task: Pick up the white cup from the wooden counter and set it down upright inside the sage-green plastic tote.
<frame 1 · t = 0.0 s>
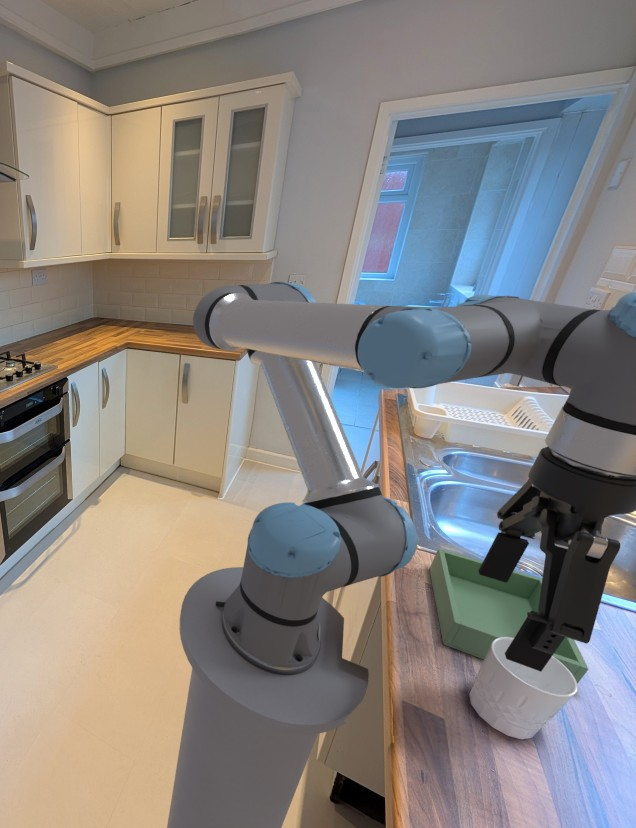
hand: (505, 615, 50), 19 cm above the countertop, tool pointing down, fingers open, 13 cm apart
tote: (489, 621, 71), on the countertop
white cup: (499, 713, 58), on the countertop
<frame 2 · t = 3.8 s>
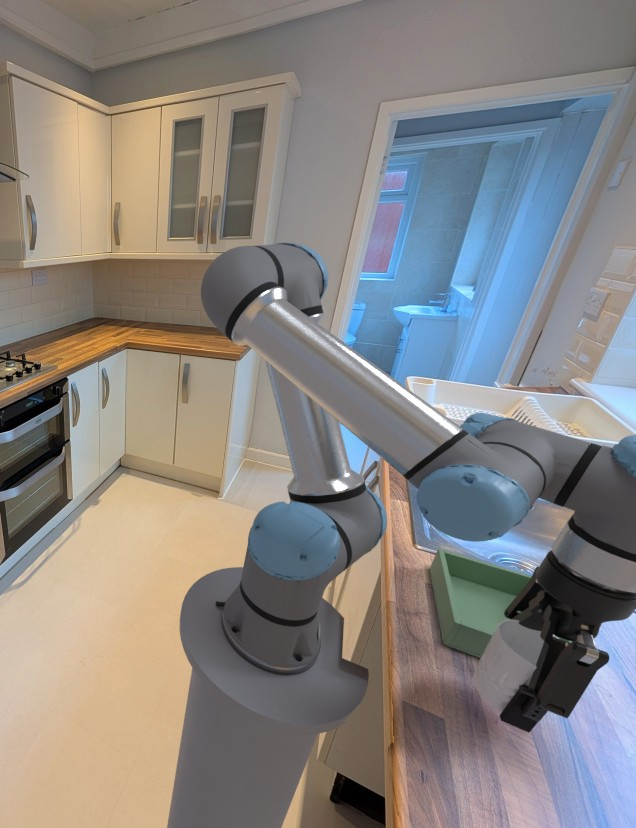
hand: (505, 694, 57), 3 cm above the countertop, tool pointing down, fingers closed on white cup, 8 cm apart
white cup: (503, 696, 57), point 3 cm above the countertop, touching gripper
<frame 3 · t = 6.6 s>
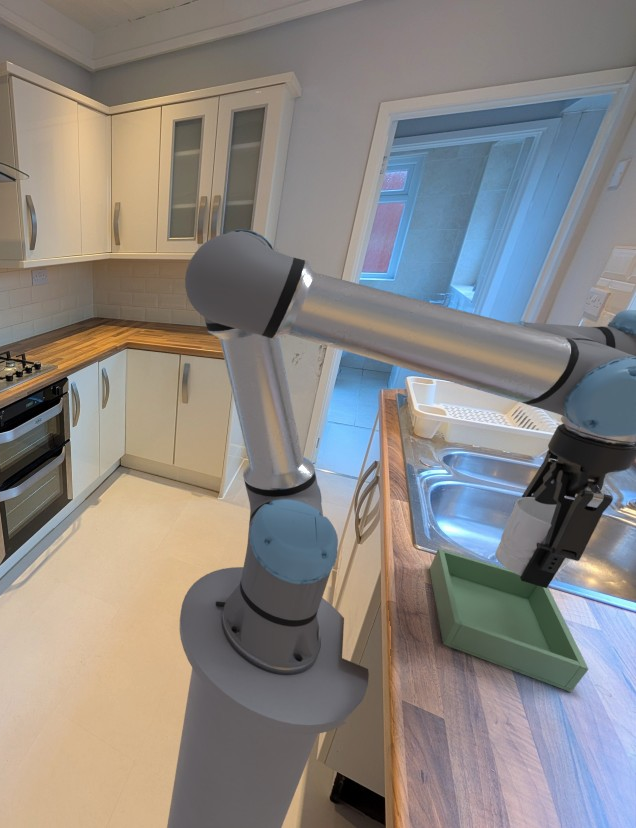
hand: (525, 564, 65), 13 cm above the countertop, tool pointing down, fingers closed on white cup, 8 cm apart
white cup: (523, 566, 65), point 13 cm above the countertop, touching gripper
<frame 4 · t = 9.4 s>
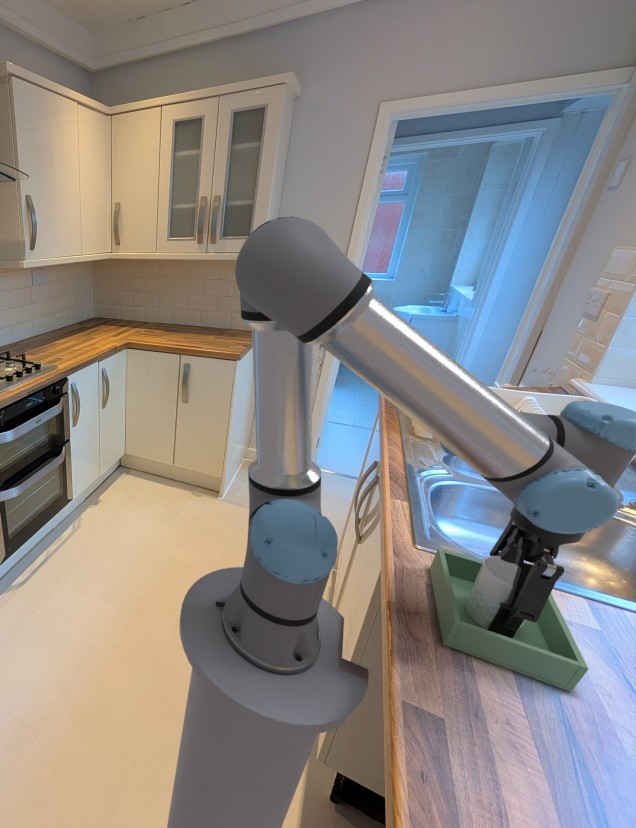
hand: (491, 617, 71), 1 cm above the countertop, tool pointing down, fingers closed on white cup, 8 cm apart
white cup: (490, 619, 71), resting on tote, touching gripper
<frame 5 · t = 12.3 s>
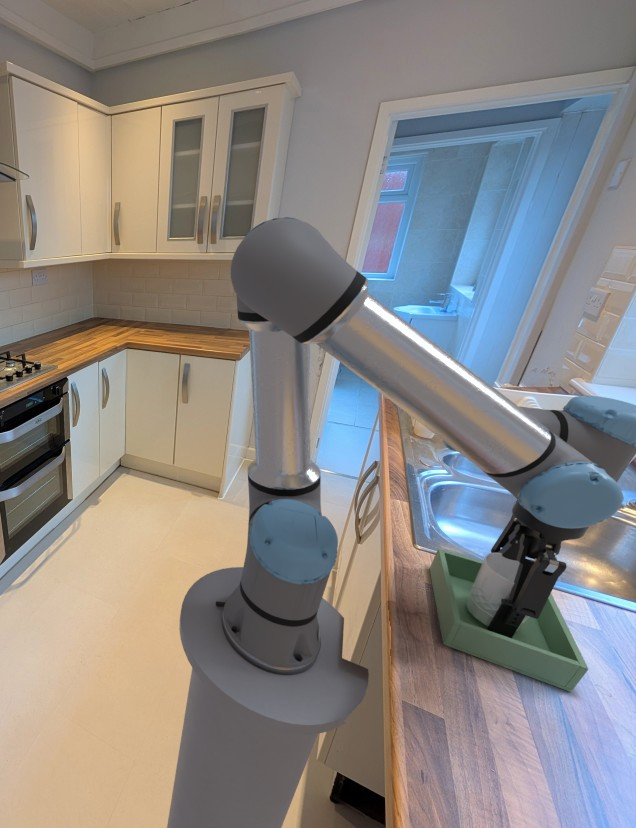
hand: (492, 614, 70), 2 cm above the countertop, tool pointing down, fingers closed on white cup, 8 cm apart
white cup: (491, 616, 71), point 1 cm above the countertop, touching gripper
when the fingers open (2 cm above the countertop, at t = 14.7 s): white cup stays where it is, resting on tote.
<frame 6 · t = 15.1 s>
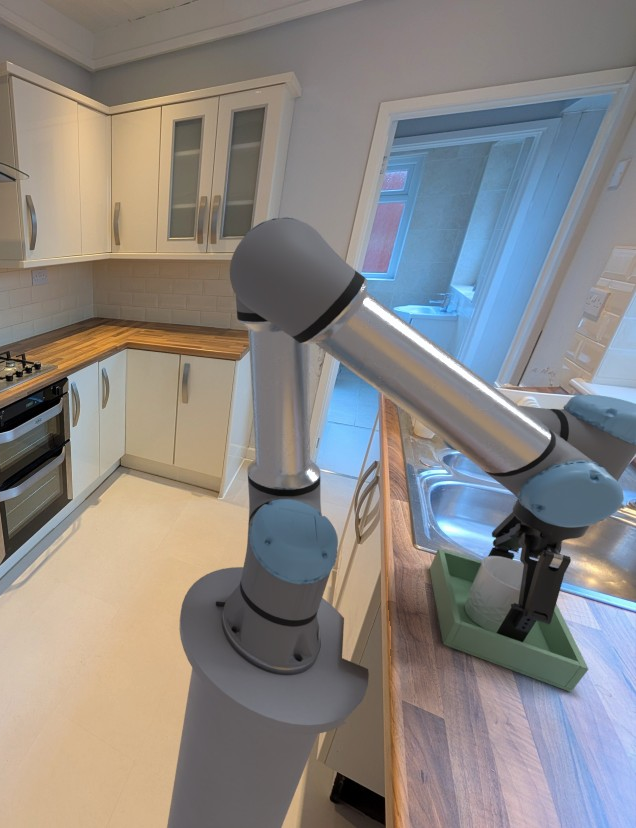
hand: (497, 607, 70), 3 cm above the countertop, tool pointing down, fingers open, 13 cm apart
white cup: (489, 619, 71), resting on tote
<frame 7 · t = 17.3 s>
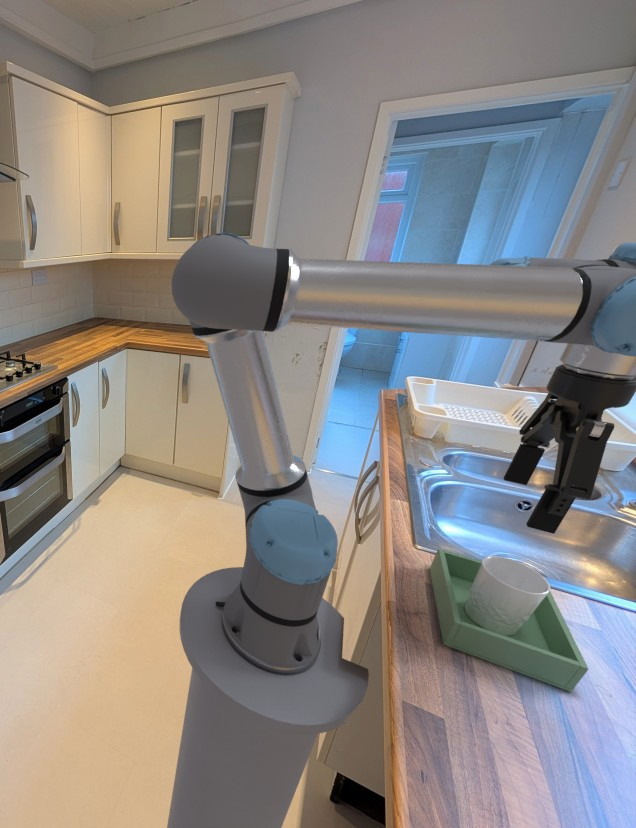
hand: (526, 503, 64), 22 cm above the countertop, tool pointing down, fingers open, 13 cm apart
nothing on the countertop moved.
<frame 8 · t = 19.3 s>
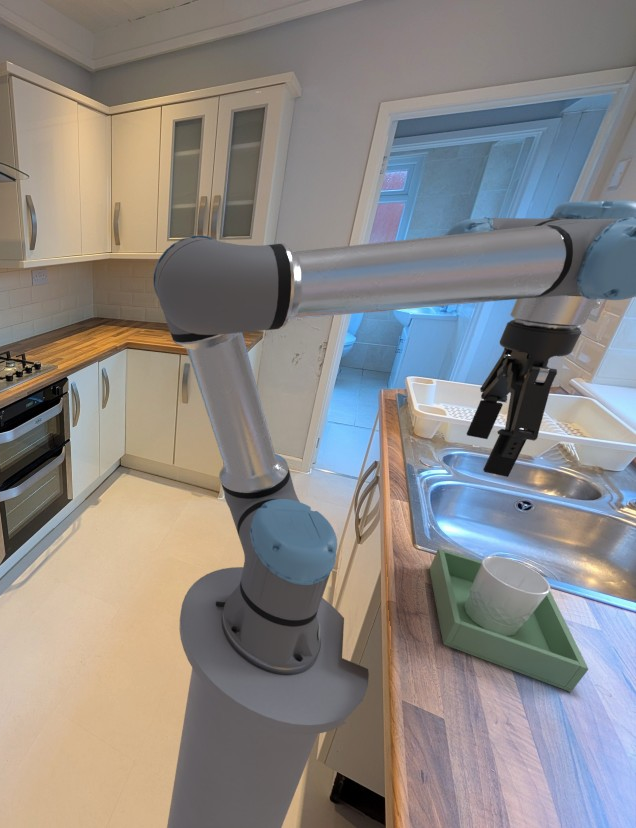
hand: (485, 453, 69), 27 cm above the countertop, tool pointing down, fingers open, 13 cm apart
nothing on the countertop moved.
at the end: white cup inside the target area in the tote (0.2 cm from its centre), point 0.4 cm above the tote's base; white cup tilted 0°; the gripper is holding nothing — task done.
